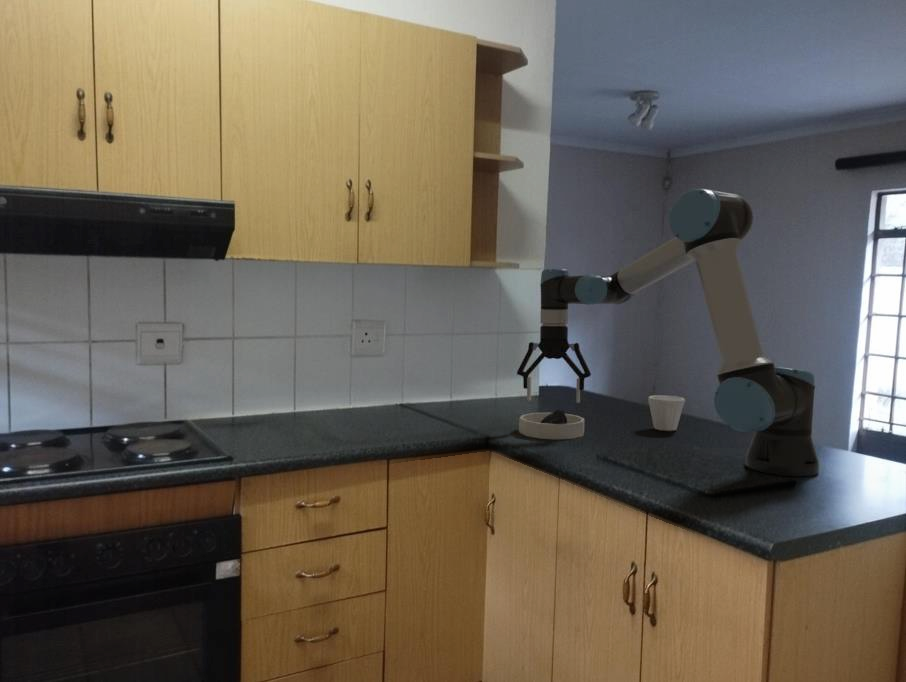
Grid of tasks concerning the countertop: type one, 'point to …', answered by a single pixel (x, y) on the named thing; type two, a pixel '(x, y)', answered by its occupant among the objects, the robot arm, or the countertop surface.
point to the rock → (555, 418)
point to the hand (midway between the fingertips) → (553, 401)
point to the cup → (666, 411)
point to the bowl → (551, 427)
